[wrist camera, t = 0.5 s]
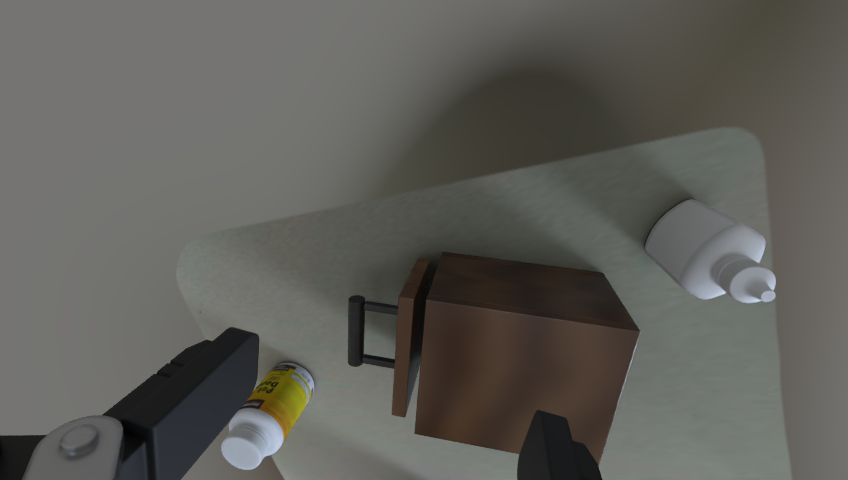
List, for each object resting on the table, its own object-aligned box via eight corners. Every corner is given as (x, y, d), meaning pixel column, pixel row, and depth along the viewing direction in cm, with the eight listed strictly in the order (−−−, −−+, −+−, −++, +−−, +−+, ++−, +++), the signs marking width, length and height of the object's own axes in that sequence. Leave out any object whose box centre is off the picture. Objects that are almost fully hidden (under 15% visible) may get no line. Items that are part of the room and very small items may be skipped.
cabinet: (431, 362, 41) (414, 433, 32) (442, 251, 37) (426, 299, 28) (574, 386, 40) (597, 469, 31) (603, 273, 35) (640, 331, 26)
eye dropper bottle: (630, 223, 33) (700, 284, 22) (701, 191, 32) (814, 241, 20) (650, 265, 34) (727, 345, 23) (719, 237, 33) (838, 308, 21)
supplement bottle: (296, 352, 44) (242, 422, 34) (325, 389, 45) (280, 467, 36) (261, 370, 46) (200, 441, 36) (290, 405, 47) (238, 483, 37)
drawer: (364, 351, 41) (336, 404, 34) (366, 251, 37) (336, 287, 30) (542, 381, 39) (554, 446, 32) (565, 278, 35) (584, 324, 28)
